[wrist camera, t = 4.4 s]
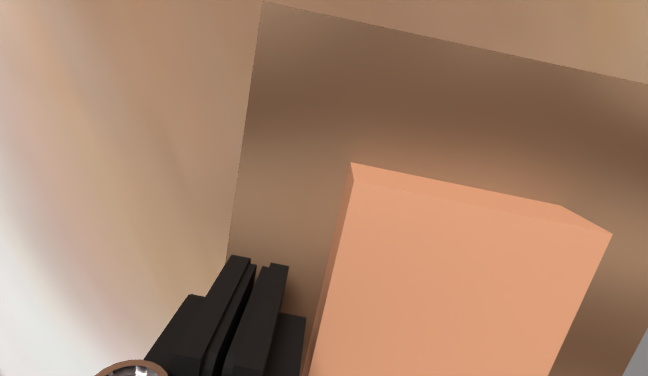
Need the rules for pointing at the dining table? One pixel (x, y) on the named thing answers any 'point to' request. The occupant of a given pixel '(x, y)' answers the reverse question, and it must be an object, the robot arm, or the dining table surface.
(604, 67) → the dining table surface
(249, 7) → the dining table surface
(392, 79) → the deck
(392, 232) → the peach rectangular tile
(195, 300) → the robot arm
